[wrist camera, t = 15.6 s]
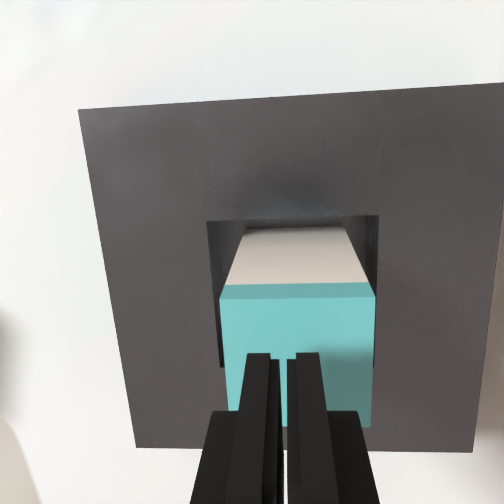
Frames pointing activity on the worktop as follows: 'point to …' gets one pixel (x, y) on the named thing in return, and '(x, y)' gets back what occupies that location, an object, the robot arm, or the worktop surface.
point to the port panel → (304, 215)
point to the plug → (301, 312)
